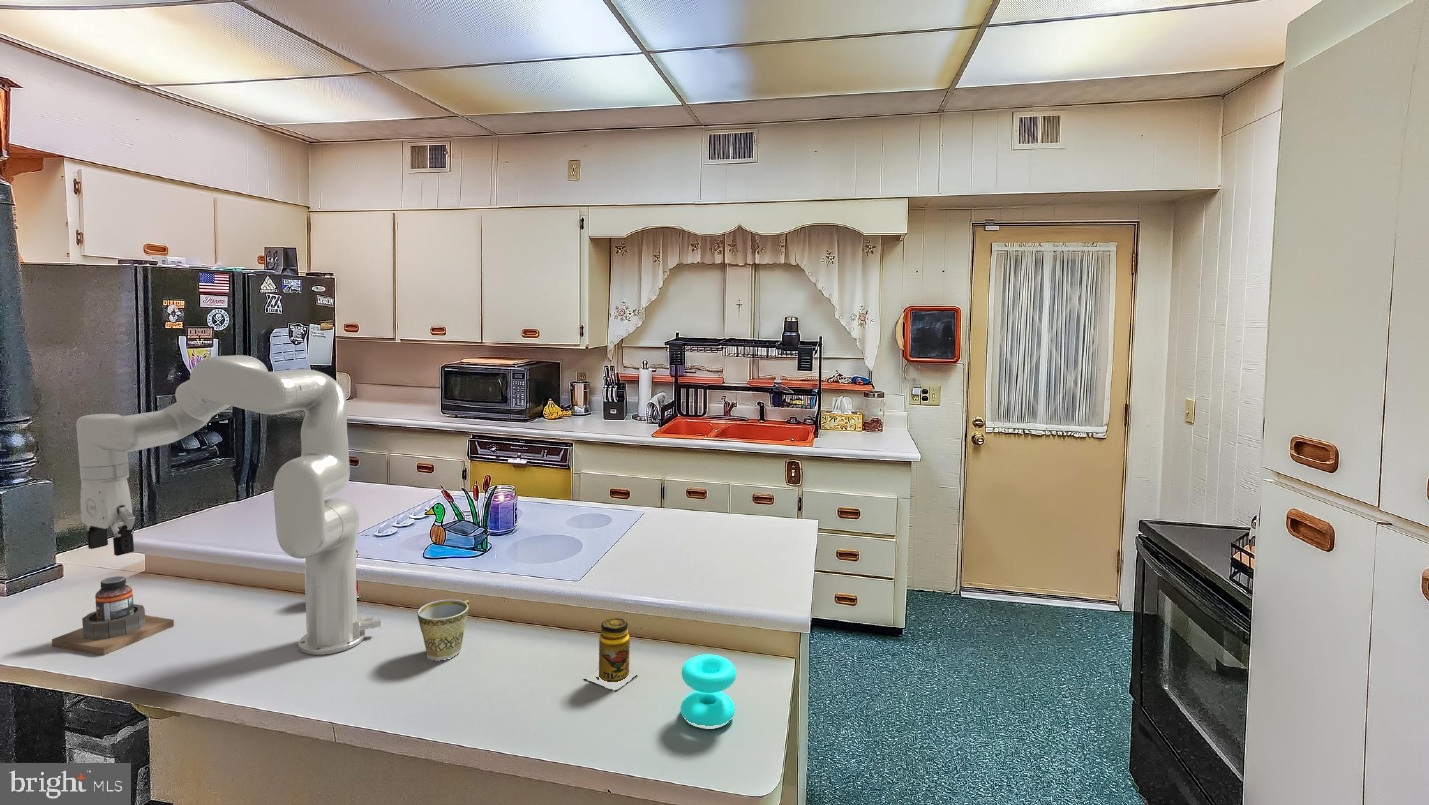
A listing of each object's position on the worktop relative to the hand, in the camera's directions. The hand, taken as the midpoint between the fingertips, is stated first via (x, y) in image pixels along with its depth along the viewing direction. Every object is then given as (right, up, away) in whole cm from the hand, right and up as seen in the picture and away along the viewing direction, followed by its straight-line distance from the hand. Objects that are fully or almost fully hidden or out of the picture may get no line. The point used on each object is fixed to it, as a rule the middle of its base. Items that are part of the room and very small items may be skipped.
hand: (111, 550), depth 139 cm
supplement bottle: (0, -18, +2) cm, 18 cm away
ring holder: (-1, -19, +2) cm, 19 cm away
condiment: (+109, -24, -8) cm, 112 cm away
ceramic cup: (+73, -22, 0) cm, 76 cm away
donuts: (+129, -26, -20) cm, 133 cm away
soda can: (+37, -18, +25) cm, 48 cm away
